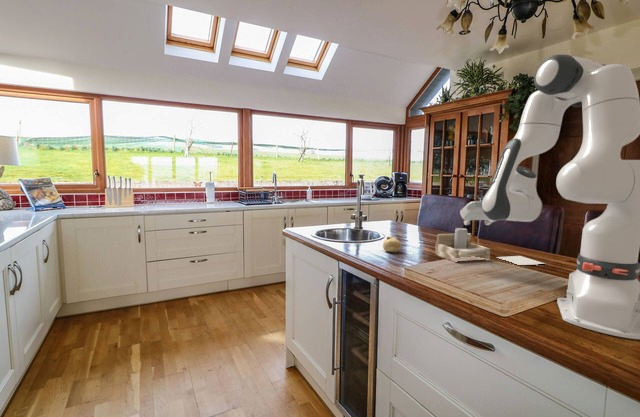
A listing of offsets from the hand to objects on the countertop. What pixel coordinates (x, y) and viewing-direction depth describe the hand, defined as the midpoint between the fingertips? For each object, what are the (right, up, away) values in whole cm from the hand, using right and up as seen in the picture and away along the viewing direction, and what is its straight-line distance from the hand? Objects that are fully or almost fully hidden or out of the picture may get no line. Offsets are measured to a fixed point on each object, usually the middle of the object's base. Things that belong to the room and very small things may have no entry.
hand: (476, 223), depth 130 cm
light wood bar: (-1, -15, +5) cm, 16 cm away
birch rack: (-2, -15, +9) cm, 17 cm away
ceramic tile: (+20, -16, +4) cm, 25 cm away
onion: (-30, -14, +17) cm, 37 cm away
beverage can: (-2, -15, +10) cm, 18 cm away
